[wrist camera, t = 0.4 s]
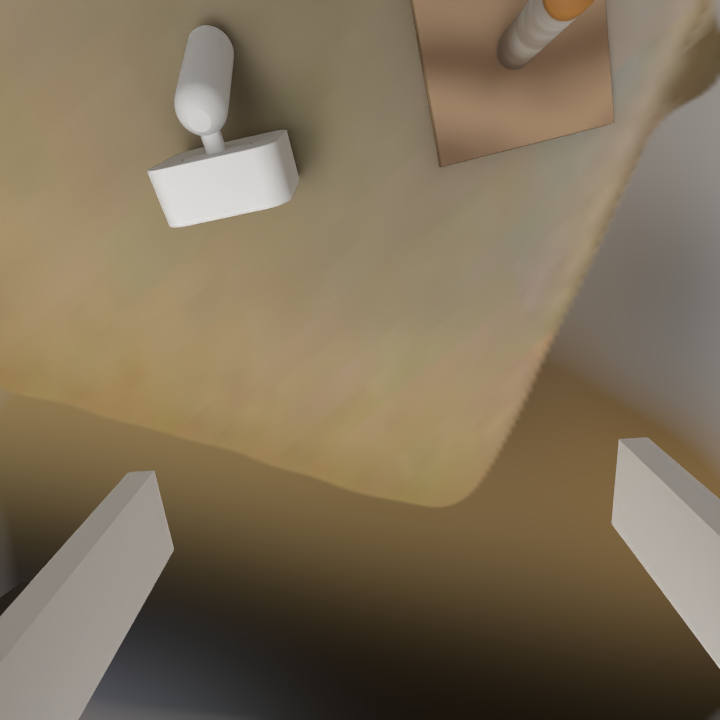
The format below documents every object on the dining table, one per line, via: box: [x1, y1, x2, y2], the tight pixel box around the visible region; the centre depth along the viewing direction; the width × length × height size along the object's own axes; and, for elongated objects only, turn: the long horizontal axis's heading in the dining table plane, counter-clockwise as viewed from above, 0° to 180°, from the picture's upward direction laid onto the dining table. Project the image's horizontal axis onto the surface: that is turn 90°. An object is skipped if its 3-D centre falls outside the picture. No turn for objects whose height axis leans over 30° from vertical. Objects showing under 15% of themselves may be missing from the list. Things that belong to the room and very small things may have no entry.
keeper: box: [410, 0, 614, 167], centre depth 28 cm, size 12×12×11 cm
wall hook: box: [147, 25, 299, 227], centre depth 31 cm, size 8×10×10 cm
